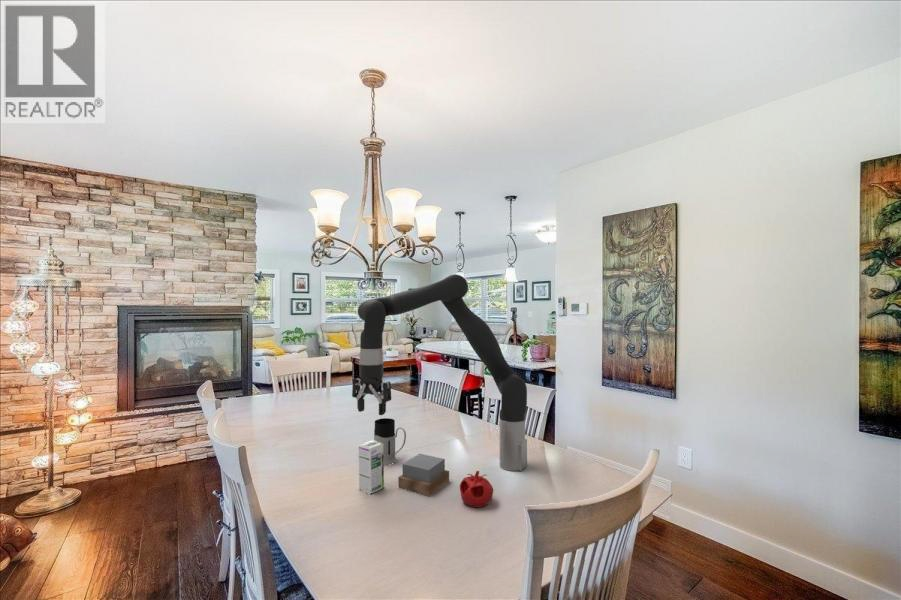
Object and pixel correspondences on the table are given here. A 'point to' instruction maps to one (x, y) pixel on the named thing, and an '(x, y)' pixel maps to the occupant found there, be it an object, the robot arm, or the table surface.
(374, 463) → the syrup box
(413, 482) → the walnut base block
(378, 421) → the grey mug
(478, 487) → the pomegranate
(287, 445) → the table surface
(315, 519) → the table surface
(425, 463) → the charcoal top block
